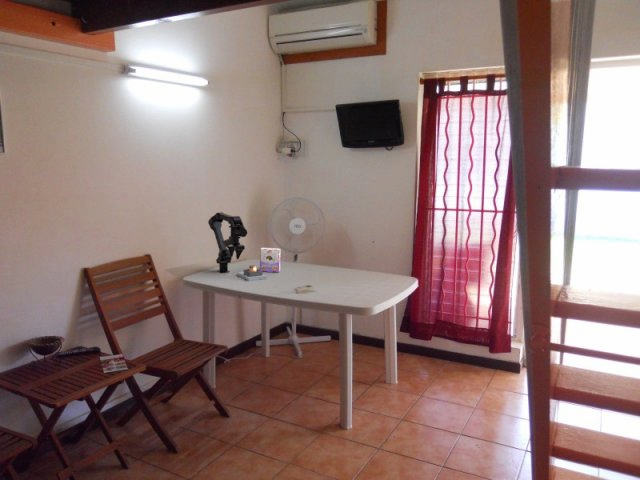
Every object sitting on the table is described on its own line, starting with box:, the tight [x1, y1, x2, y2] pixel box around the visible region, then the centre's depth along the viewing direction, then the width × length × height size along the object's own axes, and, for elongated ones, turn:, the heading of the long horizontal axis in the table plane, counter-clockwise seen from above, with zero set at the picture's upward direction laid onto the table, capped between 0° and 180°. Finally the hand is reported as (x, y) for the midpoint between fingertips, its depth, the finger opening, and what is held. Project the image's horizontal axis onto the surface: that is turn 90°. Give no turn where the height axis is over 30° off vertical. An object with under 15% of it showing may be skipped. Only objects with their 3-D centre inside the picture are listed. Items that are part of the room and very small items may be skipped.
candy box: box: [259, 247, 282, 273], centre depth 351 cm, size 14×6×16 cm, turn 84°
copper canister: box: [248, 264, 258, 272], centre depth 331 cm, size 5×5×8 cm
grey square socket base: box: [236, 268, 267, 282], centre depth 333 cm, size 17×13×5 cm
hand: (234, 258), depth 334 cm, fingers open, 9 cm apart
